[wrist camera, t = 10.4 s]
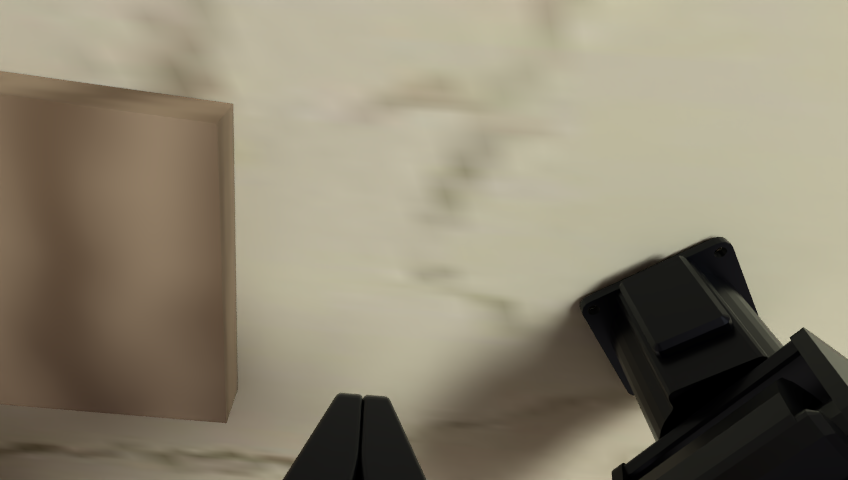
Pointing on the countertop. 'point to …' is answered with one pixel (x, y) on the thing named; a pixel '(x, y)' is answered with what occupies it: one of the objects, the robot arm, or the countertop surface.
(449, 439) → the countertop surface
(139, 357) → the board
